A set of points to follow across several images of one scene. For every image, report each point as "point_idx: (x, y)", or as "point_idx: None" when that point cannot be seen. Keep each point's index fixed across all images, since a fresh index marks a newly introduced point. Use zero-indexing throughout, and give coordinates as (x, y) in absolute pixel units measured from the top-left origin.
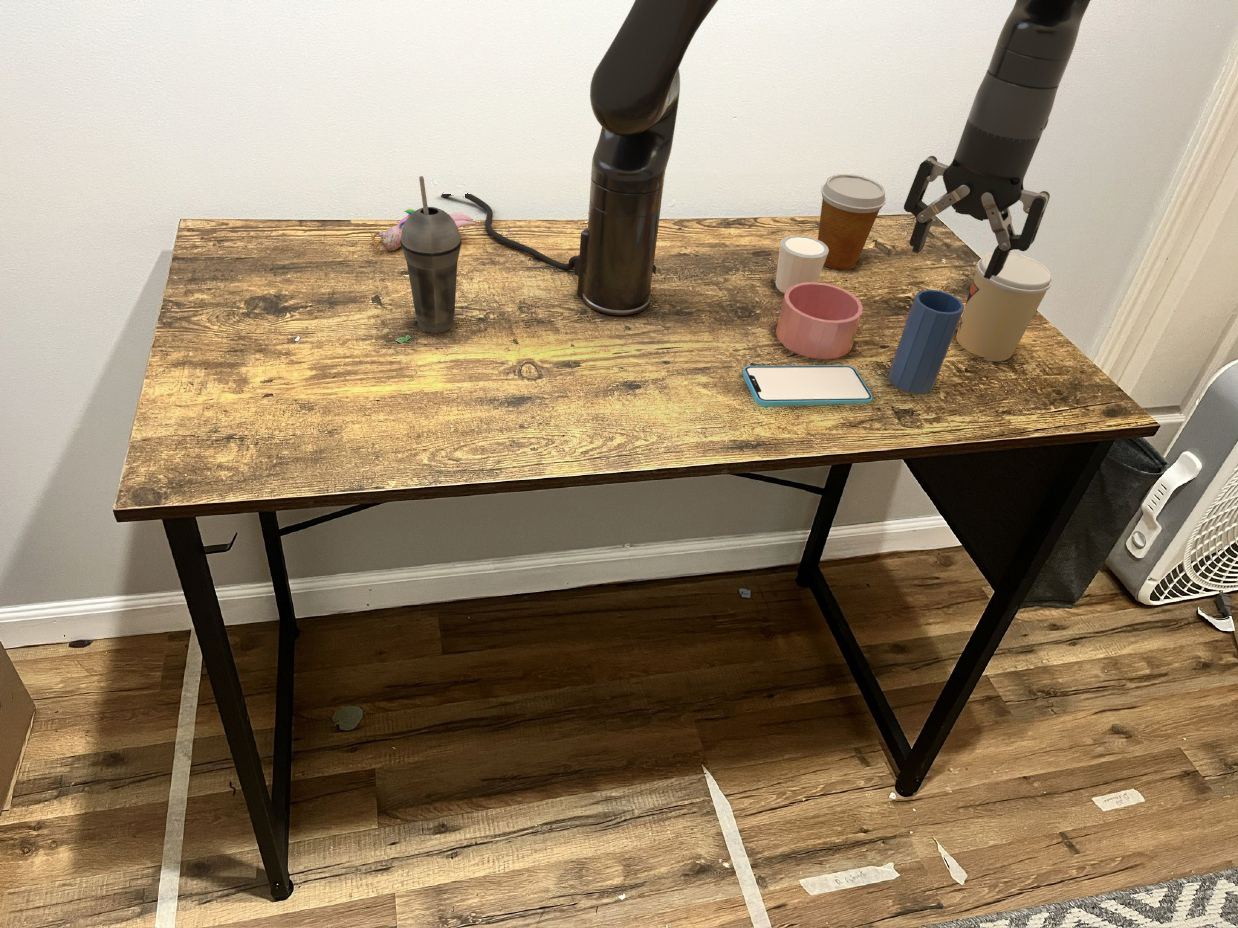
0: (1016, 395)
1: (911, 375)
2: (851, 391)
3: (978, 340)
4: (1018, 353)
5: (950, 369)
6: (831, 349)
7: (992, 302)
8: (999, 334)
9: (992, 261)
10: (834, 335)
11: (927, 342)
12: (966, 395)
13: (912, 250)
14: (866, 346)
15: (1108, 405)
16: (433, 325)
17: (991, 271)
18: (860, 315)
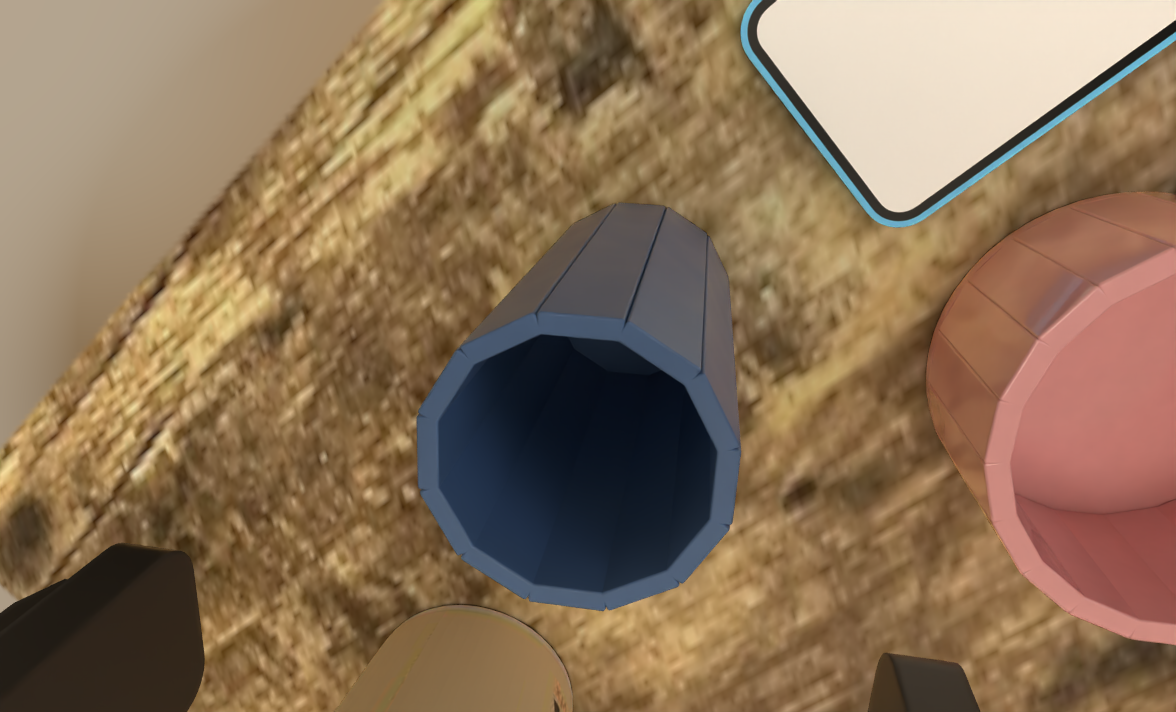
0: (286, 455)
1: (620, 220)
2: (843, 19)
3: (467, 649)
4: None
5: None
6: (1027, 251)
7: None
8: (387, 681)
9: (10, 659)
10: (1065, 266)
11: (574, 259)
12: (426, 350)
13: (955, 668)
14: (868, 457)
15: (49, 563)
16: None
17: (69, 582)
18: (988, 439)
